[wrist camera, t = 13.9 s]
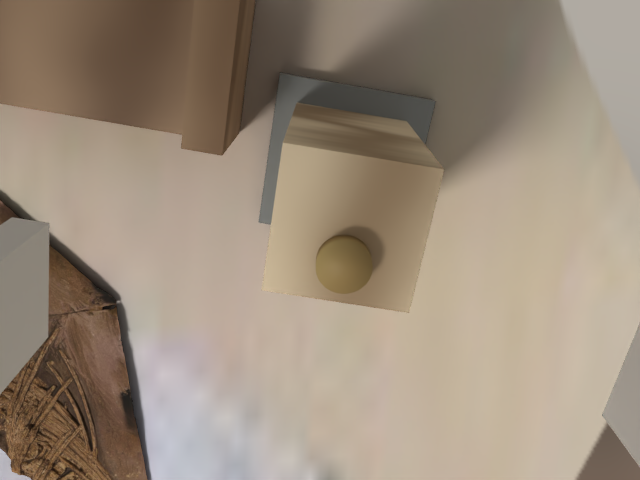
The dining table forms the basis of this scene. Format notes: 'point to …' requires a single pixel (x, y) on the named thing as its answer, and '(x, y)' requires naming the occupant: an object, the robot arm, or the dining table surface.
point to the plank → (131, 63)
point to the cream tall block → (351, 209)
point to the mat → (342, 99)
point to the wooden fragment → (72, 390)
